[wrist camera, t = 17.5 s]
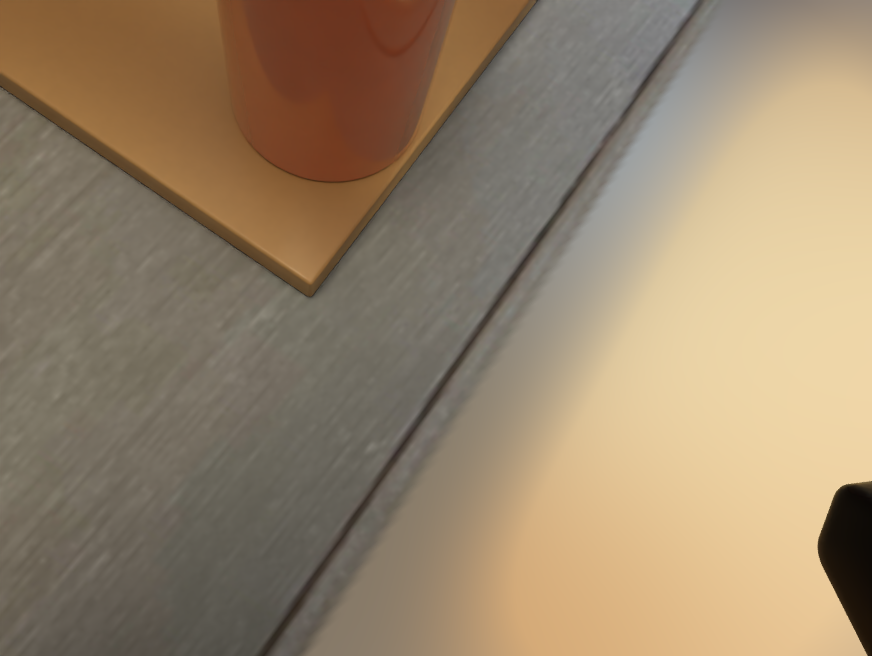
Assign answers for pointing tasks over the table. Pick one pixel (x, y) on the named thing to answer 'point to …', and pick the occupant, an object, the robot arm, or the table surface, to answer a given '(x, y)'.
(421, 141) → the low shelf board
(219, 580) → the table surface
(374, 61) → the orange knobbed cylinder
